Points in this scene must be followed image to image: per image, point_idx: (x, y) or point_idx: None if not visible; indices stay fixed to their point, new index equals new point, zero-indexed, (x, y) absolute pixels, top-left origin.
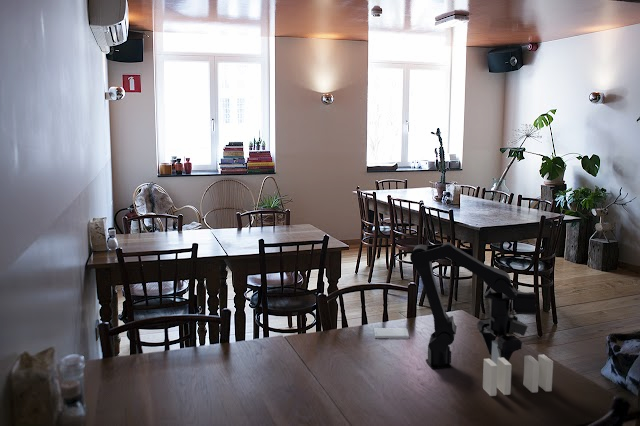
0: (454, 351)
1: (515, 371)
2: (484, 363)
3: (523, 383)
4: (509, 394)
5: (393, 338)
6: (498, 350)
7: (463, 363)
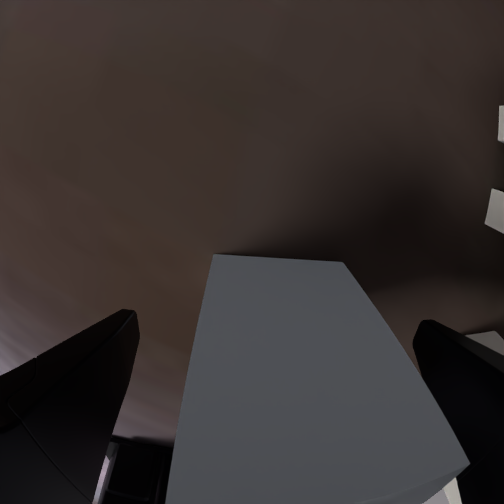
0: (6, 356)
1: (329, 142)
2: (455, 497)
3: (490, 226)
4: (493, 333)
5: None
6: (471, 495)
7: (133, 398)
